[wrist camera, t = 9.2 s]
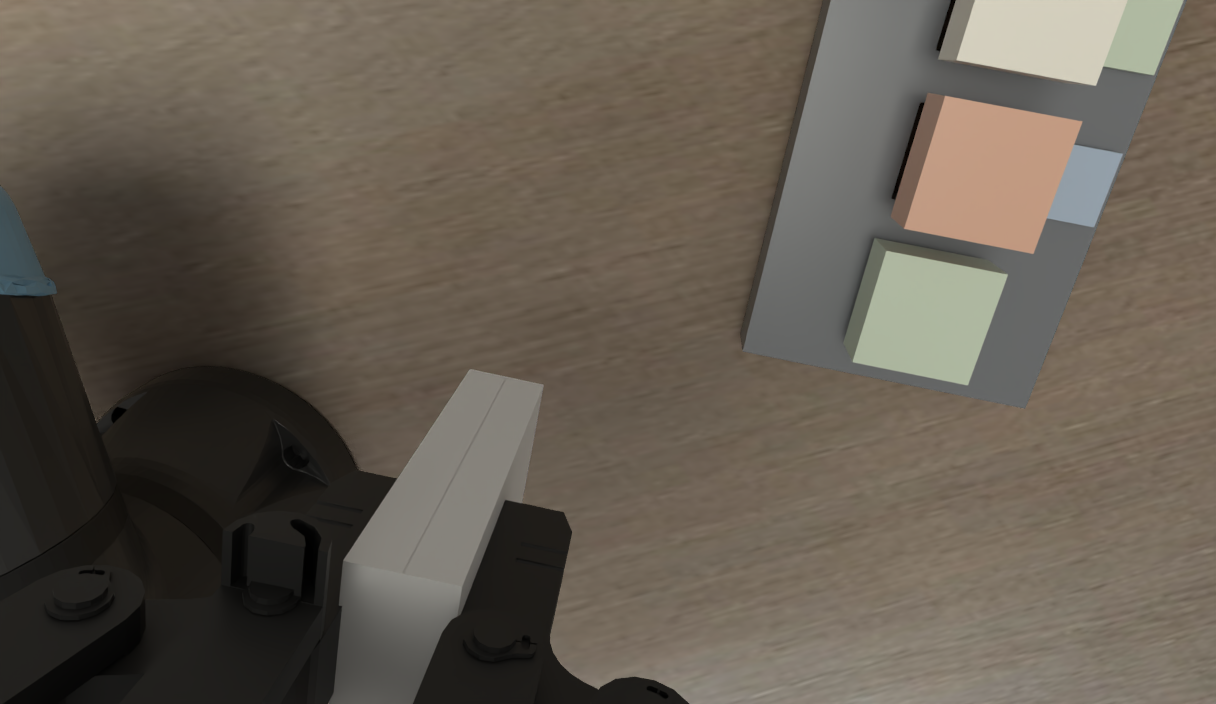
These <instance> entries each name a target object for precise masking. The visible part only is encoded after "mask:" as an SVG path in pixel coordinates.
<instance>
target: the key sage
mask: <svg viewBox="0 0 1216 704" xmlns="http://www.w3.org/2000/svg"><path fill="white" fill-rule="evenodd" d="M1007 276H1008V274H1007V273H1005V272H1004V271H1003V270H1001V269H1000V268H998V267H997V266H996V265H994V264H993V263H992V262H990V261H989V260H985V259H980V258H975V257H970V256H965V255H960V254H955V253H949V252H944V251H939V250H934V249H929V248H924V247H919V246H914V245H908V244H903V243H898V242H893V241H888V240H883V239H878V238H874V241H873V245H872V248H871V251H870V255H869V258H868V262H867V265H866V268H865V272H864V275H863V278H862V282H861V285H860V288H859V292H858V295H857V298H856V302H855V305H854V309H853V312H852V315H851V319H850V322H849V325H848V329H847V332H846V335H845V339H844V342H843V343H844V346H845V348H846V350H847V352H848V354H849V356H850V358H851V360H852V362H854V363H859V364H864V365H869V366H874V367H879V368H884V369H889V370H894V371H899V372H904V373H909V374H914V375H919V376H923V377H928V378H933V379H938V380H943V381H948V382H953V383H958V384H963V385H968V384H969V381H970V378H971V375H972V373H973V370H974V367H975V364H976V362H977V359H978V356H979V353H980V351H981V348H982V345H983V342H984V340H985V337H986V334H987V331H988V329H989V326H990V323H991V320H992V318H993V315H994V312H995V309H996V307H997V304H998V301H999V298H1000V296H1001V293H1002V290H1003V287H1004V285H1005V282H1006V279H1007Z"/></svg>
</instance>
